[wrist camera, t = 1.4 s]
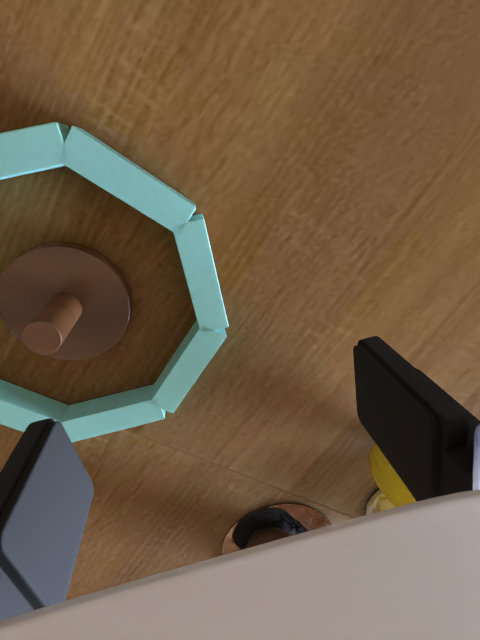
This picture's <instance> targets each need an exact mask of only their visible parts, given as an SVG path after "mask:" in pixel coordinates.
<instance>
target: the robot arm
mask: <svg viewBox="0 0 480 640" xmlns="http://www.w3.org/2000/svg"><path fill="white" fill-rule="evenodd" d="M353 354H354V369H355V385H356V401H357V413H358V417H359V420H360V422H361V423H362V425H363V426H364V428H365V429H366V430H367V432H368V433H369V435H370V436H371V438H372V439H373V440H374V442H375V443H376V445H377V446H378V447H379V449H380V450H381V452H382V453H383V455H384V456H385V457H386V459H387V460H388V462H389V463H390V464H391V466H392V467H393V469H394V470H395V472H396V473H397V474H398V476H399V477H400V479H401V480H402V481H403V483H404V484H405V486H406V487H407V489H408V490H409V491H410V493H411V494H412V496H413V497H414V498H415V500H416V501H417V502H414V503H410V504H407V505H403V506H399V507H395V508H391V509H387V510H383V511H379V512H376V513H372V514H368V515H365V516H361V517H357V518H354V519H350V520H347V521H343V522H339V523H336V524H332V525H329V526H325V527H321V528H318V529H314V530H311V531H307V532H303V533H300V534H296V535H293V536H289V537H285V538H282V539H278V540H275V541H271V542H268V543H264V544H261V545H257V546H254V547H250V548H247V549H243V550H239V551H236V552H232V553H229V554H225V555H222V556H218V557H215V558H211V559H208V560H204V561H201V562H197V563H194V564H190V565H187V566H183V567H180V568H176V569H173V570H169V571H166V572H162V573H159V574H155V575H152V576H149V577H145V578H142V579H138V580H135V581H131V582H128V583H124V584H121V585H118V586H114V587H111V588H107V589H104V590H100V591H97V592H93V593H90V594H87V595H83V596H80V597H76V598H73V599H69V600H66V596H67V592H68V588H69V585H70V581H71V577H72V573H73V570H74V566H75V562H76V558H77V554H78V551H79V547H80V543H81V539H82V536H83V532H84V528H85V524H86V521H87V517H88V513H89V509H90V505H91V502H92V498H93V494H94V487H93V483H92V480H91V478H90V477H89V475H88V473H87V471H86V469H85V467H84V465H83V463H82V461H81V459H80V457H79V456H78V454H77V452H76V450H75V448H74V446H73V444H72V442H71V440H70V438H69V436H68V434H67V433H66V431H65V429H64V427H63V425H62V423H61V422H60V421H55V420H54V419H52V418H48V419H44V420H40V421H36V422H32V423H30V424H29V425H28V427H27V428H26V430H25V432H24V433H23V435H22V437H21V438H20V440H19V442H18V444H17V445H16V447H15V449H14V450H13V452H12V454H11V455H10V457H9V459H8V461H7V462H6V464H5V466H4V467H3V469H2V471H1V472H0V640H480V421H479V420H478V419H477V418H476V417H474V416H473V415H472V414H471V413H470V412H468V411H467V410H466V409H465V408H464V407H463V406H461V405H460V404H459V403H458V402H457V401H456V400H454V399H453V398H452V397H451V396H450V395H448V394H447V393H446V392H445V391H444V390H443V389H441V388H440V387H439V386H438V385H437V384H435V383H434V382H433V381H432V380H431V379H430V378H428V377H427V376H426V375H425V374H424V373H423V372H421V371H420V370H418V369H416V368H414V367H413V366H412V365H411V364H410V363H409V362H407V361H406V360H405V359H404V358H403V357H402V356H400V355H399V354H398V353H397V352H396V351H395V350H393V349H392V348H391V347H390V346H389V345H388V344H386V343H385V342H384V341H383V340H382V339H381V338H379V337H378V336H374V337H370V338H366V339H362V340H359V341H358V345H357V346H354V348H353ZM65 600H66V601H65Z"/></svg>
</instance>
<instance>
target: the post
mask: <svg viewBox="0 0 480 640" xmlns="http://www.w3.org/2000/svg"><path fill="white" fill-rule="evenodd" d="M131 312H132V297H131V293H130V289H129V286H128V284H127V282H126V280H125V278H124V276H123V275H122V273H121V272H120V271H119V269H118V268H117V267H116V266H115V265H114V264H113V263H112V262H111V261H110V260H108V259H107V258H106V257H105V256H103V255H102V254H100V253H98V252H97V251H95V250H92V249H90V248H88V247H85V246H82V245H78V244H74V243H65V242H55V243H48V244H44V245H40V246H37V247H35V248H33V249H30V250H29V251H27V252H25V253H24V254H22V255H20V256H19V257H17V258H16V259H15V260H14V261H13V262H12V263H10V265H9V266H8V267H7V268H6V270H5V271H4V273H3V275H2V277H1V280H0V313H1V316H2V318H3V320H4V322H5V324H6V325H7V327H8V329H9V330H10V331H11V332H12V334H13V335H14V336H15V337H16V338H17V339H18V340H19V341H20V342H22V343H23V344H24V345H25V346H26V347H27V348H28V349H30V350H31V351H33V352H35V353H38V354H42V355H44V356H47V357H50V358H54V359H59V360H68V361H76V360H85V359H90V358H93V357H96V356H99V355H101V354H103V353H105V352H106V351H108V350H110V349H111V348H112V347H113V346H115V345H116V344H117V343H118V342H119V340H120V339H121V338H122V336H123V335H124V333H125V331H126V329H127V326H128V323H129V320H130V317H131Z"/></svg>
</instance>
